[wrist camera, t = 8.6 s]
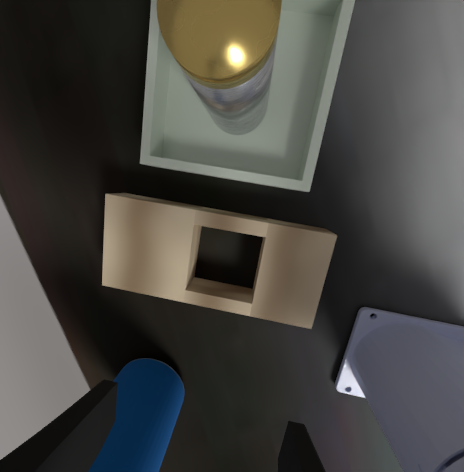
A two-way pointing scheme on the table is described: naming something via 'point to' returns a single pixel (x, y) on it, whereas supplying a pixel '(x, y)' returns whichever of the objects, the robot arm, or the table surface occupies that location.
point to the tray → (278, 111)
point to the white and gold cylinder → (225, 55)
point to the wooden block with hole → (186, 250)
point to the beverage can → (141, 418)
